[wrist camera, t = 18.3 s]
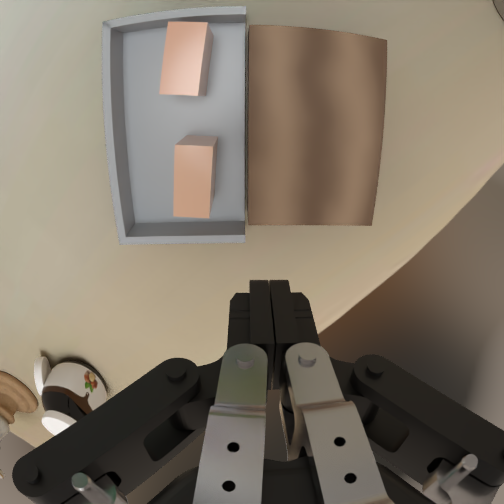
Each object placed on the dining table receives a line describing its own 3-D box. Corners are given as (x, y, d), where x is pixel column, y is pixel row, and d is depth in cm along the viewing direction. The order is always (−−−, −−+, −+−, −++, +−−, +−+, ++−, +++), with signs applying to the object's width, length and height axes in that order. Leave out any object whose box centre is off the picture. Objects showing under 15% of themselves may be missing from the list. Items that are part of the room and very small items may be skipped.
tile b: (213, 146, 24) (174, 144, 24) (209, 218, 27) (173, 216, 26) (218, 136, 29) (186, 135, 29) (214, 196, 32) (184, 194, 32)
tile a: (207, 22, 19) (168, 21, 19) (197, 96, 22) (159, 94, 22) (213, 35, 25) (181, 34, 24) (206, 95, 27) (174, 93, 27)
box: (245, 16, 24) (245, 6, 21) (244, 226, 34) (245, 242, 31) (118, 28, 24) (102, 21, 20) (131, 228, 34) (119, 244, 30)
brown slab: (370, 44, 25) (386, 40, 22) (358, 211, 34) (371, 225, 30) (248, 33, 25) (249, 24, 22) (247, 209, 33) (248, 225, 30)
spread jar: (116, 392, 47) (100, 449, 37) (70, 395, 48) (51, 445, 38) (77, 341, 42) (49, 401, 31) (31, 349, 43) (3, 400, 33)
